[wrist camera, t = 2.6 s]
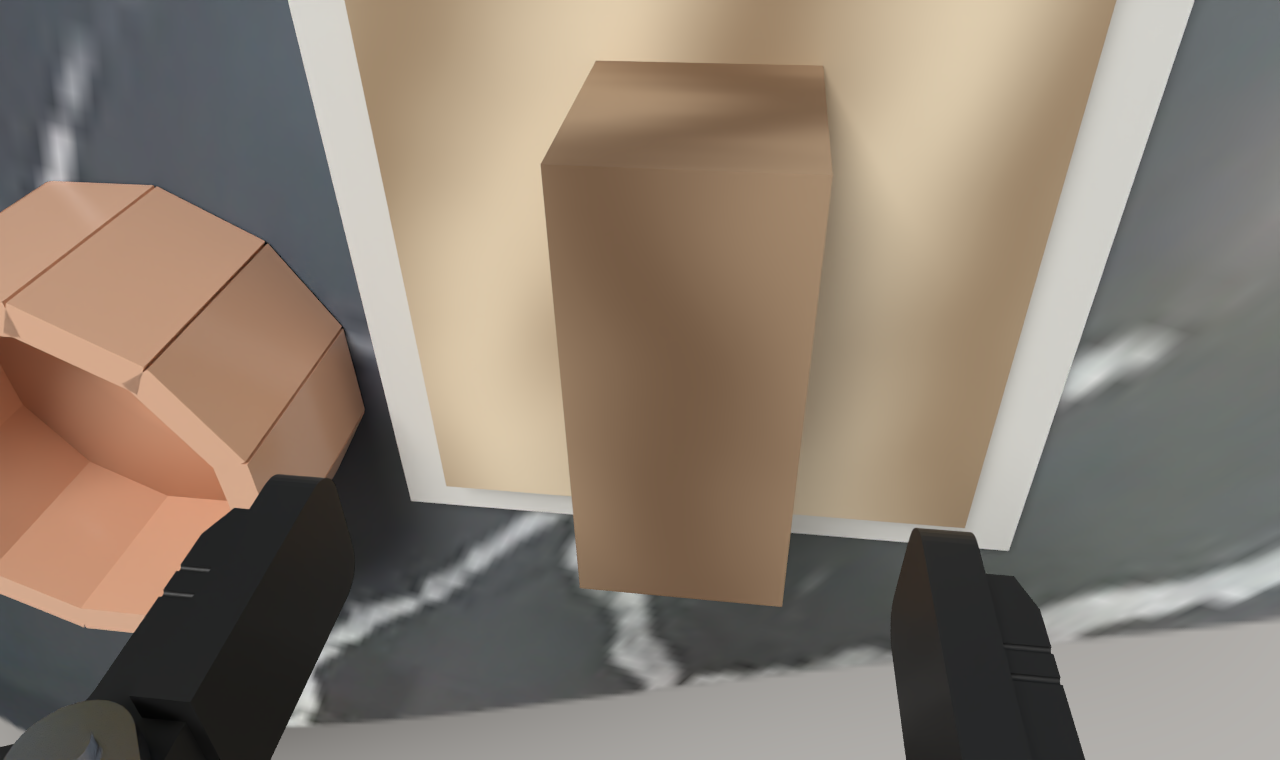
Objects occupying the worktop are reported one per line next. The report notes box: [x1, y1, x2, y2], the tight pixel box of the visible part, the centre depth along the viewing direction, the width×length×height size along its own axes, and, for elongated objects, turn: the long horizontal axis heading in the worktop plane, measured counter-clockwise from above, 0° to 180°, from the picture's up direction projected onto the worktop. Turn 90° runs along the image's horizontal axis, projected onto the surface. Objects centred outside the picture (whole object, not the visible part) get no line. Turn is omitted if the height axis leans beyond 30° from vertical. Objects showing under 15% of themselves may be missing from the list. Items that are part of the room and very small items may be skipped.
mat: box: [288, 0, 1194, 551], centre depth 19 cm, size 16×16×1 cm
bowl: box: [0, 181, 365, 633], centre depth 22 cm, size 10×10×5 cm
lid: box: [344, 0, 1116, 607], centre depth 17 cm, size 13×13×5 cm
